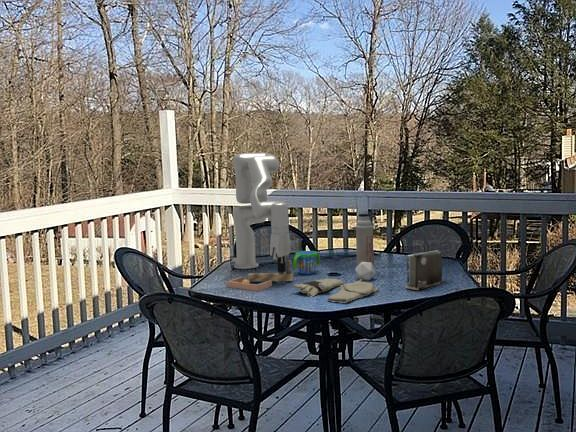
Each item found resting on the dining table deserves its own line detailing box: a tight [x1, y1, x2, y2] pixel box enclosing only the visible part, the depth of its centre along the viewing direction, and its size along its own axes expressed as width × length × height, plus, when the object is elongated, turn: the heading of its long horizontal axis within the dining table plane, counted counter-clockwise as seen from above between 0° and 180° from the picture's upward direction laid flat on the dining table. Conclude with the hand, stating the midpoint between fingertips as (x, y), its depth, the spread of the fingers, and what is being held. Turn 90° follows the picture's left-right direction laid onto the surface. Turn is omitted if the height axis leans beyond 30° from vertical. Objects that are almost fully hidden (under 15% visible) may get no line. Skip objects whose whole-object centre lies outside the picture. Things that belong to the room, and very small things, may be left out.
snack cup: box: [292, 250, 321, 275], centre depth 272 cm, size 16×10×10 cm
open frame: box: [226, 276, 273, 292], centre depth 251 cm, size 17×10×2 cm, turn 56°
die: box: [354, 262, 377, 282], centre depth 255 cm, size 8×9×10 cm
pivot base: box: [274, 281, 289, 284], centre depth 257 cm, size 6×6×1 cm
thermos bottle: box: [355, 213, 375, 268], centre depth 267 cm, size 8×8×28 cm
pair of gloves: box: [291, 278, 379, 304], centre depth 234 cm, size 30×26×5 cm
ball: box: [242, 278, 251, 284], centre depth 249 cm, size 4×4×4 cm
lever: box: [247, 259, 294, 282], centre depth 257 cm, size 20×3×9 cm, turn 84°
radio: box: [404, 249, 444, 291], centre depth 240 cm, size 23×9×15 cm, turn 129°
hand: (281, 271), depth 252 cm, fingers closed
